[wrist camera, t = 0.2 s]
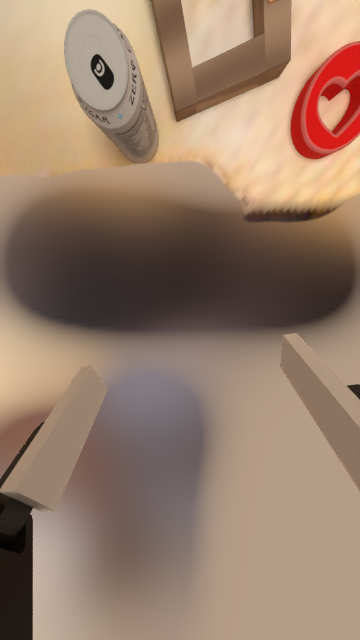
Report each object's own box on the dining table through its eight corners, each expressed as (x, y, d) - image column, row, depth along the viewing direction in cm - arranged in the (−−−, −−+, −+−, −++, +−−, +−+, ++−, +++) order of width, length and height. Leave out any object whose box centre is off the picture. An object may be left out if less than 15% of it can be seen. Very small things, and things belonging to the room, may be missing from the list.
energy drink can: (137, 95, 24) (83, -43, 11) (167, 140, 26) (151, 67, 13) (110, 136, 26) (40, 60, 13) (141, 174, 28) (106, 140, 16)
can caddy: (138, -61, 19) (130, -111, 16) (277, -149, 16) (296, -226, 13) (177, 121, 25) (176, 109, 22) (278, 77, 23) (291, 57, 20)
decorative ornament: (300, 174, 28) (312, 170, 26) (281, 101, 24) (293, 86, 22) (368, 126, 25) (390, 116, 23) (359, 34, 21) (385, 8, 19)
